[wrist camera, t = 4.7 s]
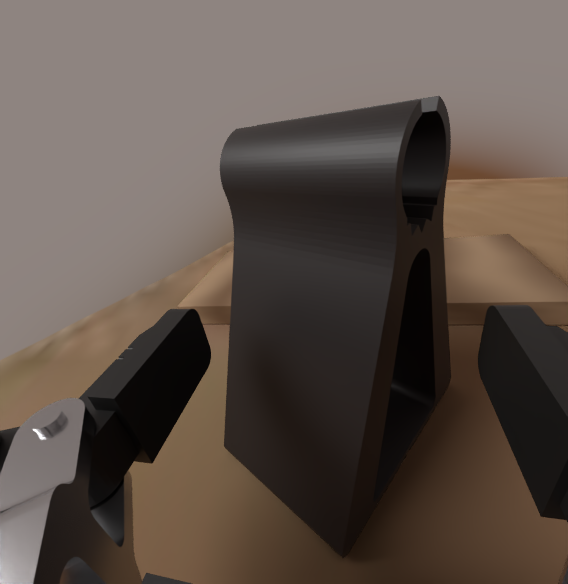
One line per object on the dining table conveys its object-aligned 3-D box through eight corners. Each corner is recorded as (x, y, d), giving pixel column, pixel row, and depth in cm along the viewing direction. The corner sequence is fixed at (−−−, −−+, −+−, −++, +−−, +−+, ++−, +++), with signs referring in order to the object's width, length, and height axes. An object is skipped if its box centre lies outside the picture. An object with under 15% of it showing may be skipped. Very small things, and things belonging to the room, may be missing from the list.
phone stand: (344, 340, 19) (328, 112, 13) (451, 383, 15) (494, 85, 9) (225, 451, 14) (111, 151, 8) (342, 563, 10) (283, 126, 4)
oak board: (505, 251, 25) (509, 233, 25) (575, 324, 17) (584, 300, 16) (231, 265, 32) (227, 251, 31) (183, 323, 23) (176, 306, 22)
